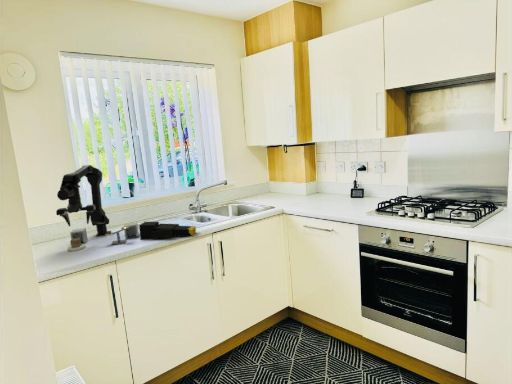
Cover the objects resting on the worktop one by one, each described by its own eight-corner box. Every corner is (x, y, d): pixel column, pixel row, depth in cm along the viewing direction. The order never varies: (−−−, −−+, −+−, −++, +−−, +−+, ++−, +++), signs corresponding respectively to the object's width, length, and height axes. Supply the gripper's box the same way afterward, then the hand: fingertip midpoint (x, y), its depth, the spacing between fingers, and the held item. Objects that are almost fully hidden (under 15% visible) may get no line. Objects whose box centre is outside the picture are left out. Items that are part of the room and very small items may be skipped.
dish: (69, 247, 201) (69, 245, 201) (87, 245, 203) (87, 243, 203) (65, 252, 192) (65, 250, 192) (83, 249, 194) (83, 247, 194)
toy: (190, 228, 197) (136, 226, 200) (190, 243, 199) (137, 241, 201) (197, 221, 213) (147, 219, 215) (197, 235, 214) (147, 233, 216)
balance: (107, 243, 202) (105, 229, 201) (131, 240, 205) (129, 225, 204) (106, 246, 198) (103, 231, 196) (131, 242, 201) (129, 227, 199)
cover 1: (75, 242, 212) (72, 229, 211) (87, 240, 214) (85, 228, 212) (72, 245, 206) (70, 232, 205) (85, 243, 207) (83, 230, 206)
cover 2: (126, 235, 216) (124, 223, 215) (138, 234, 217) (137, 222, 216) (125, 238, 209) (123, 226, 208) (138, 237, 211) (136, 224, 210)
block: (73, 246, 199) (72, 239, 198) (81, 244, 200) (80, 237, 199) (71, 248, 195) (70, 240, 194) (79, 247, 196) (78, 239, 195)
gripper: (50, 201, 188) (56, 230, 190) (89, 197, 192) (94, 225, 194) (57, 198, 198) (61, 226, 201) (93, 194, 203) (97, 221, 205)
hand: (78, 225), depth 200 cm, fingers open, 9 cm apart
